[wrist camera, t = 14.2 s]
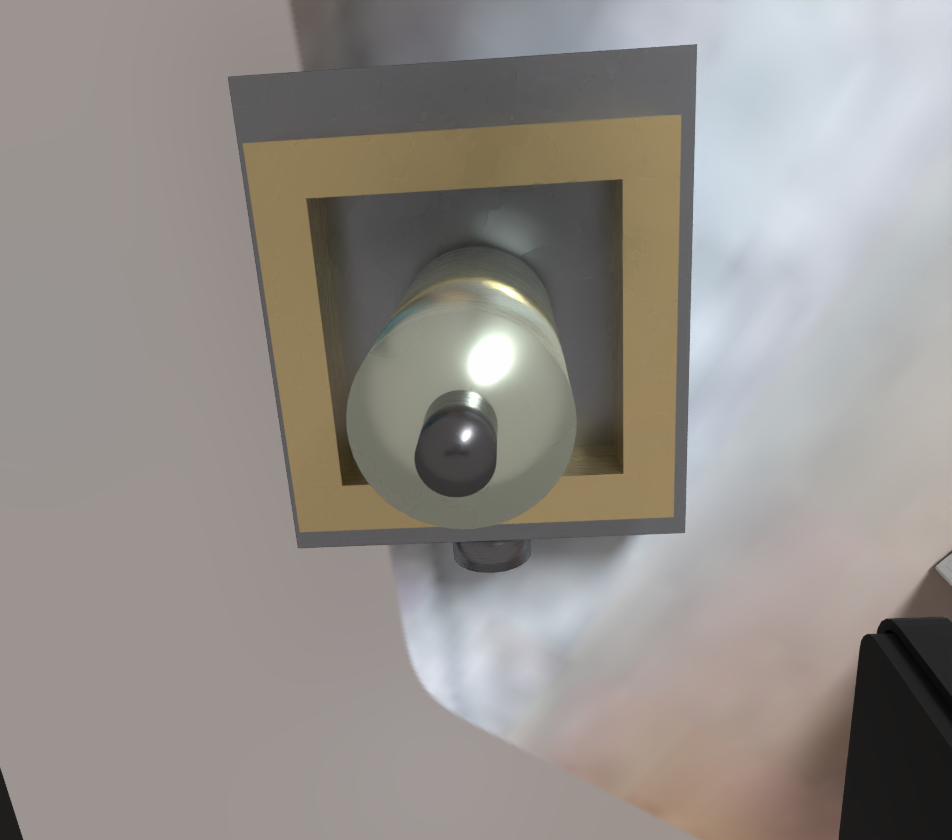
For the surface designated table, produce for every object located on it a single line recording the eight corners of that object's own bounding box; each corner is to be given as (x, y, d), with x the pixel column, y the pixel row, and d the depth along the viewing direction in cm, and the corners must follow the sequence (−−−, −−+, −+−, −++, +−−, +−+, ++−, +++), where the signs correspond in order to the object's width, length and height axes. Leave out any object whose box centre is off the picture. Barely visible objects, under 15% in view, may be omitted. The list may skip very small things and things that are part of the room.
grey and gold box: (263, 82, 29) (199, 72, 23) (671, 54, 28) (717, 36, 22) (325, 536, 35) (287, 624, 29) (664, 522, 34) (699, 610, 28)
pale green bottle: (394, 250, 27) (312, 340, 16) (551, 242, 27) (582, 327, 15) (407, 399, 29) (342, 577, 17) (555, 392, 28) (586, 569, 17)
